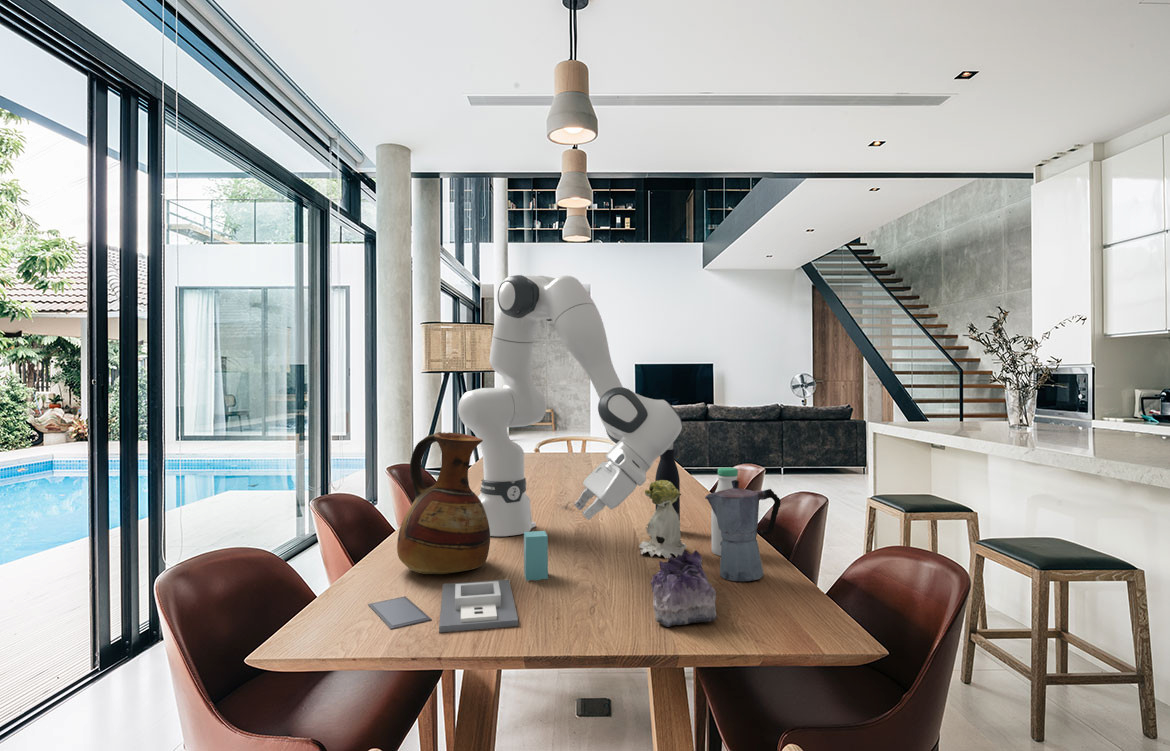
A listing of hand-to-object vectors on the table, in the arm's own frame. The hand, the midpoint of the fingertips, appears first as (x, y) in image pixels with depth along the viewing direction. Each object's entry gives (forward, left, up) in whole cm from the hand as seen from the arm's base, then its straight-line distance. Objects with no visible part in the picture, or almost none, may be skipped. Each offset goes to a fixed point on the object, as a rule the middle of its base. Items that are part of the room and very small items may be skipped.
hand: (580, 512), depth 136 cm
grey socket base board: (+5, -26, -13) cm, 30 cm away
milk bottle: (+6, +37, -13) cm, 40 cm away
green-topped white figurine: (-4, +25, -13) cm, 29 cm away
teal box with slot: (-4, -9, -13) cm, 16 cm away
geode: (+27, +4, -13) cm, 31 cm away
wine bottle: (-17, +38, -13) cm, 44 cm away
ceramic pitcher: (-20, -23, -13) cm, 33 cm away
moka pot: (+20, +27, -13) cm, 36 cm away
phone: (0, -39, -14) cm, 41 cm away
